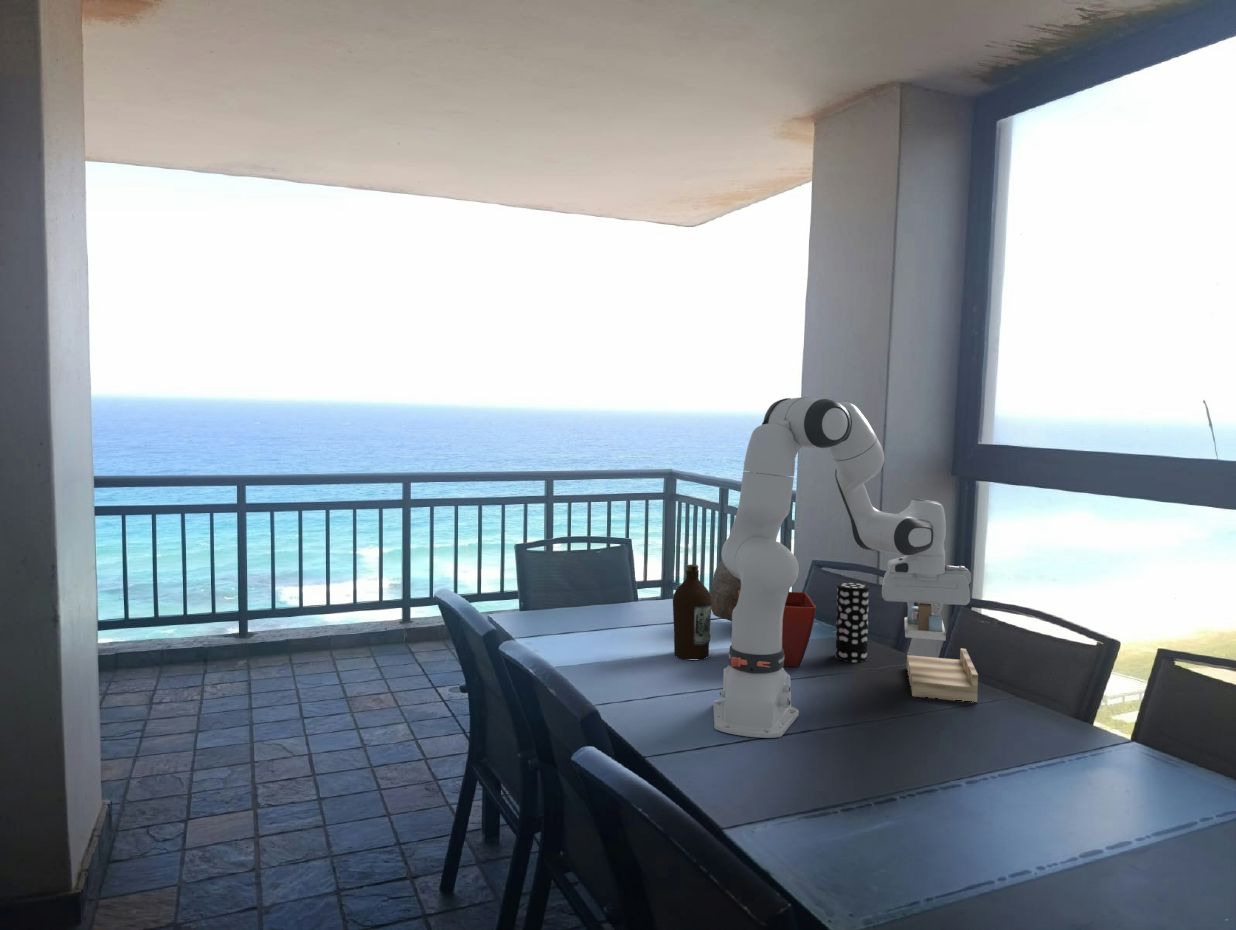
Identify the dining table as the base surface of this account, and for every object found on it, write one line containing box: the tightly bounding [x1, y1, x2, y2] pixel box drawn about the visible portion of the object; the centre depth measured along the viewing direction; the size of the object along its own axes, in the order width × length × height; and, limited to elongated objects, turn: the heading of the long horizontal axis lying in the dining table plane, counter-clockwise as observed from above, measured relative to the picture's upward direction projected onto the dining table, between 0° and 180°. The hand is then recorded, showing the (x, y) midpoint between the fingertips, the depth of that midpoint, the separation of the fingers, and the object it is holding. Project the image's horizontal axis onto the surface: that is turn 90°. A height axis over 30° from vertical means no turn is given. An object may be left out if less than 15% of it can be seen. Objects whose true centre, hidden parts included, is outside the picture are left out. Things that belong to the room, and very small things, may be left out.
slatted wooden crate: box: [906, 648, 979, 703], centre depth 192 cm, size 22×14×6 cm, turn 163°
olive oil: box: [672, 564, 712, 660], centre depth 214 cm, size 11×11×25 cm
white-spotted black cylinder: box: [835, 582, 870, 663], centre depth 213 cm, size 8×8×20 cm
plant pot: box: [738, 590, 817, 667], centre depth 211 cm, size 19×19×17 cm
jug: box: [710, 555, 741, 623], centre depth 242 cm, size 24×21×30 cm
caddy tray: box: [903, 603, 947, 641], centre depth 193 cm, size 13×9×7 cm
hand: (924, 620), depth 193 cm, fingers closed on caddy tray, 3 cm apart
